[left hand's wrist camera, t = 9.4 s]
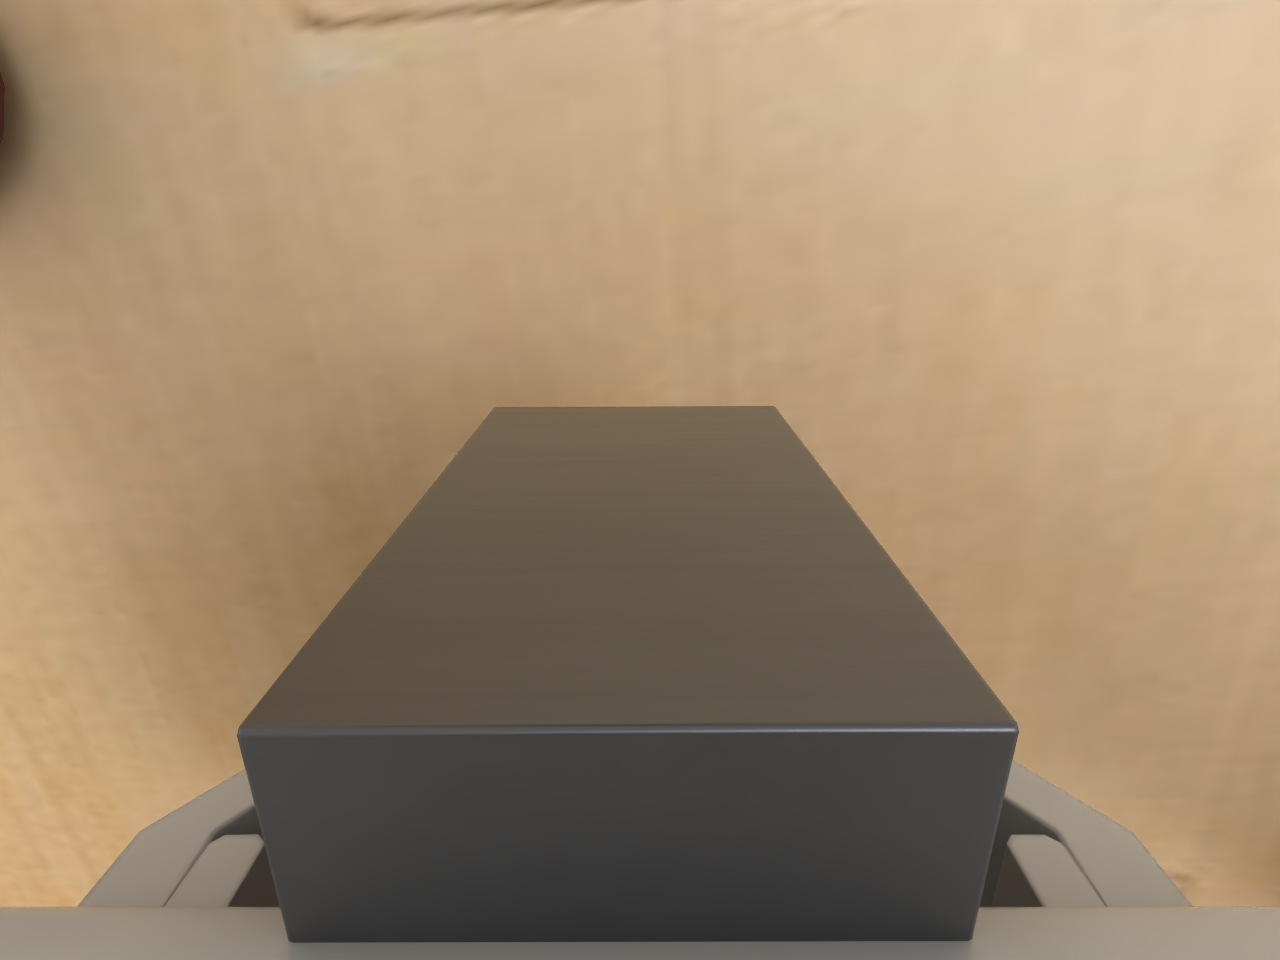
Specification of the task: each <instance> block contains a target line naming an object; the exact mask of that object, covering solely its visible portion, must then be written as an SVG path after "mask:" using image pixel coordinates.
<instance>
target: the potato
mask: <svg viewBox="0 0 1280 960" xmlns="http://www.w3.org/2000/svg"><path fill="white" fill-rule="evenodd" d="M3 118H4V84H3V81H2V77H1V74H0V143H1V141H2V139H3Z"/></svg>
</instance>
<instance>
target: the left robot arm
mask: <svg viewBox="0 0 1280 960" xmlns="http://www.w3.org/2000/svg"><path fill="white" fill-rule="evenodd" d="M0 960H1280V907H1193V906H1192V905H1191V904H1190V903H1189V901H1188V900H1187V899H1186V898H1185V896H1184V895H1183V894H1182V893H1181V891H1180V890H1179V889H1178V888H1177V886H1176V885H1175V884H1174V883H1173V882H1172V880H1171V879H1170V878H1169V877H1168V875H1167V874H1166V873H1165V872H1164V870H1163V869H1162V868H1161V867H1160V865H1159V864H1158V863H1157V862H1156V860H1155V859H1154V858H1153V857H1152V856H1151V854H1150V853H1149V852H1148V851H1147V849H1146V848H1145V847H1144V846H1143V844H1142V843H1141V842H1140V841H1139V839H1138V838H1137V837H1136V836H1135V834H1134V833H1133V832H1131V831H1129V830H1128V829H1126V828H1124V827H1123V826H1121V825H1119V824H1118V823H1116V822H1114V821H1113V820H1111V819H1109V818H1108V817H1106V816H1104V815H1103V814H1101V813H1099V812H1098V811H1096V810H1094V809H1093V808H1091V807H1089V806H1088V805H1086V804H1084V803H1083V802H1081V801H1079V800H1078V799H1076V798H1074V797H1073V796H1071V795H1069V794H1068V793H1066V792H1064V791H1063V790H1061V789H1059V788H1058V787H1056V786H1054V785H1053V784H1051V783H1049V782H1048V781H1046V780H1044V779H1043V778H1041V777H1039V776H1038V775H1036V774H1034V773H1033V772H1031V771H1029V770H1028V769H1026V768H1024V767H1023V766H1021V765H1019V764H1018V763H1016V762H1014V761H1013V760H1012V764H1011V768H1010V773H1009V777H1008V782H1007V786H1006V790H1005V795H1004V799H1003V804H1002V808H1001V813H1000V817H999V822H998V826H997V830H996V835H995V839H994V844H993V848H992V853H991V857H990V861H989V866H988V870H987V875H986V879H985V884H984V888H983V893H982V897H981V901H980V906H979V910H978V915H977V919H976V924H975V928H974V932H973V937H972V939H971V940H969V941H797V942H366V943H293V942H290V941H288V937H287V933H286V929H285V925H284V921H283V917H282V913H281V909H280V905H279V901H278V897H277V893H276V889H275V885H274V881H273V877H272V873H271V869H270V865H269V861H268V857H267V853H266V849H265V845H264V841H263V837H262V833H261V829H260V825H259V821H258V817H257V813H256V809H255V805H254V801H253V797H252V793H251V789H250V785H249V781H248V777H247V773H246V769H244V770H243V771H241V772H239V773H238V774H236V775H234V776H232V777H231V778H229V779H227V780H226V781H224V782H222V783H221V784H219V785H217V786H216V787H214V788H212V789H211V790H209V791H207V792H205V793H204V794H202V795H200V796H199V797H197V798H195V799H194V800H192V801H190V802H189V803H187V804H185V805H184V806H182V807H180V808H178V809H177V810H175V811H173V812H172V813H170V814H168V815H167V816H165V817H163V818H162V819H160V820H158V821H157V822H155V823H153V824H151V825H150V826H148V827H146V828H145V829H143V830H141V831H140V832H139V833H138V834H137V835H136V836H135V838H134V839H133V840H132V841H131V842H130V844H129V845H128V846H127V847H126V848H125V850H124V851H123V852H122V853H121V854H120V856H119V857H118V858H117V859H116V861H115V862H114V863H113V864H112V865H111V867H110V868H109V869H108V870H107V871H106V873H105V874H104V875H103V876H102V877H101V879H100V880H99V881H98V882H97V883H96V885H95V886H94V887H93V888H92V889H91V891H90V892H89V893H88V894H87V896H86V897H85V898H84V899H83V900H82V902H81V903H80V904H79V905H78V906H77V907H0Z"/></svg>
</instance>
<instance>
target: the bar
mask: <svg viewBox="0 0 1280 960" xmlns="http://www.w3.org/2000/svg"><path fill="white" fill-rule="evenodd" d="M1018 733H1019V731H1018V726H1017V723H1016V721H1015V720H1014V719H1013V717H1012V716H1011V715H1010V713H1009V712H1008V711H1007V709H1006V708H1005V707H1004V706H1003V704H1002V703H1001V702H1000V700H999V699H998V698H997V696H996V695H995V694H994V692H993V691H992V690H991V689H990V687H989V686H988V685H987V683H986V682H985V681H984V679H983V678H982V677H981V676H980V674H979V673H978V672H977V670H976V669H975V668H974V666H973V665H972V664H971V662H970V661H969V660H968V659H967V657H966V656H965V655H964V653H963V652H962V651H961V649H960V648H959V647H958V645H957V644H956V643H955V642H954V640H953V639H952V638H951V636H950V635H949V634H948V632H947V631H946V630H945V628H944V627H943V626H942V625H941V623H940V622H939V621H938V619H937V618H936V617H935V615H934V614H933V613H932V611H931V610H930V609H929V608H928V606H927V605H926V604H925V602H924V601H923V600H922V598H921V597H920V596H919V594H918V593H917V592H916V591H915V589H914V588H913V587H912V585H911V584H910V583H909V581H908V580H907V579H906V578H905V576H904V575H903V574H902V572H901V571H900V570H899V568H898V567H897V566H896V564H895V563H894V562H893V561H892V559H891V558H890V557H889V555H888V554H887V553H886V551H885V550H884V549H883V547H882V546H881V545H880V544H879V542H878V541H877V540H876V538H875V537H874V536H873V534H872V533H871V532H870V530H869V529H868V528H867V527H866V525H865V524H864V523H863V521H862V520H861V519H860V517H859V516H858V515H857V513H856V512H855V511H854V510H853V508H852V507H851V506H850V504H849V503H848V502H847V500H846V499H845V498H844V497H843V495H842V494H841V493H840V491H839V490H838V489H837V487H836V486H835V485H834V483H833V482H832V481H831V480H830V478H829V477H828V476H827V474H826V473H825V472H824V470H823V469H822V468H821V466H820V465H819V464H818V463H817V461H816V460H815V459H814V457H813V456H812V455H811V453H810V452H809V451H808V449H807V448H806V447H805V446H804V444H803V443H802V442H801V440H800V439H799V438H798V436H797V435H796V434H795V432H794V431H793V430H792V429H791V427H790V426H789V425H788V423H787V422H786V421H785V419H784V418H783V417H782V415H781V414H780V413H779V412H778V410H777V409H776V408H775V407H774V406H710V407H496V408H494V409H493V410H492V411H491V413H490V414H489V415H488V416H487V418H486V419H485V420H484V421H483V423H482V424H481V425H480V426H479V428H478V429H477V430H476V431H475V433H474V434H473V435H472V436H471V438H470V439H469V440H468V441H467V443H466V444H465V445H464V446H463V448H462V449H461V450H460V451H459V453H458V454H457V455H456V456H455V458H454V459H453V460H452V461H451V463H450V464H449V465H448V466H447V468H446V469H445V470H444V471H443V473H442V474H441V475H440V476H439V478H438V479H437V480H436V481H435V483H434V484H433V485H432V486H431V488H430V489H429V490H428V491H427V493H426V494H425V495H424V496H423V498H422V499H421V500H420V501H419V503H418V504H417V505H416V506H415V508H414V509H413V510H412V511H411V513H410V514H409V515H408V516H407V518H406V519H405V520H404V521H403V523H402V524H401V525H400V526H399V528H398V529H397V530H396V531H395V533H394V534H393V535H392V536H391V538H390V539H389V540H388V541H387V543H386V544H385V545H384V546H383V548H382V549H381V550H380V551H379V553H378V554H377V555H376V556H375V558H374V559H373V560H372V561H371V563H370V564H369V565H368V566H367V568H366V569H365V570H364V571H363V573H362V574H361V575H360V576H359V578H358V579H357V580H356V581H355V583H354V584H353V585H352V586H351V588H350V589H349V590H348V591H347V593H346V594H345V595H344V596H343V598H342V599H341V600H340V601H339V603H338V604H337V605H336V606H335V608H334V609H333V610H332V611H331V613H330V614H329V615H328V616H327V618H326V619H325V620H324V621H323V623H322V624H321V625H320V626H319V628H318V629H317V630H316V631H315V633H314V634H313V635H312V636H311V638H310V639H309V640H308V641H307V643H306V644H305V645H304V646H303V648H302V649H301V650H300V651H299V653H298V654H297V655H296V656H295V658H294V659H293V660H292V661H291V663H290V664H289V665H288V666H287V668H286V669H285V670H284V671H283V673H282V674H281V675H280V676H279V678H278V679H277V680H276V681H275V683H274V684H273V685H272V686H271V688H270V689H269V690H268V691H267V693H266V694H265V695H264V696H263V698H262V699H261V700H260V701H259V703H258V704H257V705H256V707H255V708H254V709H253V710H252V712H251V713H250V714H249V715H248V717H247V718H246V719H245V720H244V722H243V723H242V724H241V725H240V727H239V730H238V734H237V737H238V741H239V745H240V749H241V753H242V757H243V761H244V765H245V769H246V773H247V777H248V781H249V785H250V789H251V793H252V797H253V801H254V805H255V809H256V813H257V817H258V821H259V825H260V829H261V833H262V837H263V841H264V845H265V849H266V853H267V857H268V861H269V865H270V869H271V873H272V877H273V881H274V885H275V889H276V893H277V897H278V901H279V905H280V909H281V913H282V917H283V921H284V925H285V929H286V933H287V937H288V941H290V942H293V943H366V942H797V941H969V940H971V939H972V937H973V932H974V928H975V924H976V919H977V915H978V910H979V906H980V901H981V897H982V893H983V888H984V884H985V879H986V875H987V870H988V866H989V861H990V857H991V853H992V848H993V844H994V839H995V835H996V830H997V826H998V822H999V817H1000V813H1001V808H1002V804H1003V799H1004V795H1005V790H1006V786H1007V782H1008V777H1009V773H1010V768H1011V764H1012V759H1013V755H1014V750H1015V746H1016V742H1017V737H1018Z"/></svg>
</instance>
